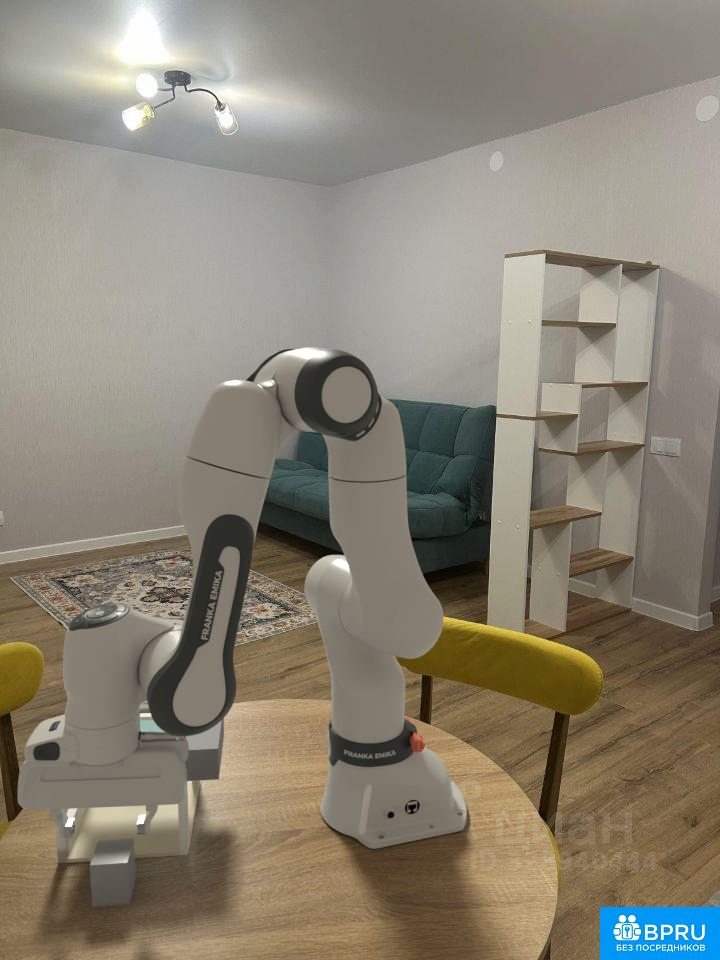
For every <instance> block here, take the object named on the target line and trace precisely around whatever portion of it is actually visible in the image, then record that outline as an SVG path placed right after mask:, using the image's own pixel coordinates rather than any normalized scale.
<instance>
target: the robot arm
mask: <svg viewBox="0 0 720 960" xmlns="http://www.w3.org/2000/svg"><path fill="white" fill-rule="evenodd" d="M399 412H400V411H399V410H398V408H397V407H396V406H395V404H394V403H393V402H391V401H390V400H388V399H386V398H384V397H382V396H381V395H380V394H379V391H378V386H377V382H376V380H375V377H374V375H373V373H372V372H371V370H370V368H369V366H367V364H365V362H363V361H362V359H361V358H359V357H357V356H356V355H354V354H352V353H349V352H347V351H344V350H341V349H331V348H324V347H315V346H306V347H302V348H286V349H281V350H279V351H276V352H275V353H272V354H270V355H269V356H268V357H266V358H265V359H264V360H263V361H262V362H261V363H260V364H259V365H258V366H257V368H256V369H255V370H254V371H253V373H252V374H251V375H250V376H248V377H247V378H246V380H242V379H232V380H228V381H227V380H226V381H224V382H221V383H220V384H218V385H217V386H215V387H214V388H213V389H212V390H211V392H210V393H209V396H208V398H207V399H206V401H205V403H204V405H203V407H202V410H201V412H200V414H199V416H198V418H197V421H196V422H195V425H194V428H193V431H192V434H191V436H190V439H189V443H188V446H187V449H186V453H185V456H184V460H183V463H182V466H181V470H180V471H181V472H180V475H179V482H178V491H177V492H178V493H177V511H178V514H179V517H180V519H181V522H182V525H183V526H184V530H185V531H186V535H187V538H188V541H189V544H190V545H189V546H190V549H191V550H190V551H191V553H192V563H193V564H192V565H193V568H192V569H193V570H192V571H193V572H192V581H191V584H190V585H191V587H190V590H189V593H188V594H189V595H188V599H187V604H186V608H185V612H184V616H183V619H181V618H162V617H157V616H152V615H149V614H145V613H143V612H141V611H138V610H136V609H134V608H133V607H132V606H130V605H128V604H126V603H123V602H122V603H121V602H114V603H113V602H112V603H111V602H107V603H101V604H98V605H94V606H92V607H89V608H87V609H85V610H83V611H82V612H80V613H79V614H77V615H76V616H75V617H73V619H72V620H71V621H70V623H69V625H68V626H67V628H66V632H65V637H64V642H63V643H64V644H63V655H62V656H63V657H62V674H63V675H62V676H63V677H62V681H63V687H64V691H65V692H66V696H67V702H66V706H65V711H64V714H61V715H57V716H55V717H51V718H48V719H45V720H42V721H41V722H39V724H38V725H37V726H36V727H35V729H33V732H32V733H31V734H30V736H29V738H28V740H27V741H26V744H25V747H24V751H23V755H24V759H25V760H24V761H23V763H22V765H21V767H20V770H19V773H18V781H17V782H18V783H17V803H18V805H19V806H20V807H21V808H22V809H23V810H25V811H39V810H41V811H42V810H47V811H49V817H50V818H51V819H52V821H53V822H54V824H55V823H56V824H57V826H58V827H60V838H72V837H73V834H74V833H75V825H74V824H75V818H68V816H67V814H66V813H67V812H66V813H65V811H64V810H63V809H66V810H68V809H72V808H97V807H121V806H146V811H147V813H146V815H139V818H138V822H137V829H138V830H137V834H149V832H150V828H151V820H152V818H153V817H154V815H155V814H156V812H157V809H158V805H172V804H178V803H180V802H181V800H182V799H183V798H184V797H185V794H186V789H187V773H186V765H185V761H186V760H187V758H188V755H189V744H188V741H187V739H186V738H185V737H184V736H192V735H197V734H200V733H203V732H205V731H207V730H209V729H211V728H212V727H214V726H215V725H217V724H218V723H219V722H220V721H221V720H222V719H223V718H224V719H225V717H226V716H227V715H228V713H229V712H230V710H232V707H233V704H234V702H235V700H236V695H237V679H236V672H235V665H234V650H235V645H236V640H237V639H236V638H237V633H238V630H239V625H240V619H241V615H242V610H243V605H244V601H245V595H246V591H247V586H248V581H249V577H250V571H251V566H252V559H253V551H254V546H255V543H256V537H257V536H256V535H257V532H258V531H257V530H258V528H259V527H258V526H259V521H260V517H261V514H262V511H263V506H264V502H265V499H266V495H267V492H268V488H269V484H270V480H271V477H272V473H273V470H274V467H275V466H274V465H275V463H276V462H275V461H276V456H277V454H278V452H279V450H280V448H281V446H282V444H283V443H284V441H285V440H286V439H287V438H288V436H290V435H291V433H293V432H295V431H300V432H305V433H319V434H320V435H322V437H323V439H324V441H325V445H326V448H327V453H328V458H327V459H328V461H327V462H328V463H327V465H328V466H327V469H328V472H327V473H328V475H327V476H328V498H329V499H328V505H329V524H330V530H331V532H332V535H333V536H334V539H336V541H337V542H338V545H339V546H340V548H341V550H342V552H343V554H330V555H326V556H323V557H321V558H320V559H318V560H316V562H315V563H314V564H312V566H311V567H310V569H309V571H308V573H307V575H306V577H305V581H304V590H303V591H304V596H305V597H304V598H305V600H306V602H307V604H308V605H309V607H310V608H311V610H312V612H313V614H314V617H315V619H316V621H317V622H316V623H317V624H318V628H319V631H320V634H321V638H322V641H323V642H322V643H323V646H324V650H325V655H326V658H327V663H328V667H329V675H330V681H331V683H330V684H331V686H330V687H331V690H330V691H331V696H330V697H331V718H330V721H329V724H328V731H327V757H328V760H329V767H328V773H327V778H326V779H327V780H326V784H325V788H324V793H323V795H322V797H321V798H322V799H321V802H320V805H319V806H320V807H319V810H320V813H321V817H322V818H323V820H324V821H325V823H327V825H329V826H330V828H332V829H334V830H335V831H337V832H339V833H341V834H343V835H346V836H350V837H352V838H354V839H356V840H357V841H359V842H360V843H361V844H362V845H363V846H365V847H367V848H369V849H373V850H375V849H377V850H378V849H381V848H385V847H390V846H394V845H400V844H405V843H409V842H414V841H420V840H425V839H428V838H433V837H439V836H443V835H449V834H452V833H453V834H454V833H457V832H461V831H463V830H464V829H465V827H466V825H467V821H468V811H467V804H466V801H465V798H464V795H463V793H462V791H461V790H460V788H459V787H458V785H457V784H456V783H455V782H454V781H453V779H452V778H451V777H450V774H449V772H448V769H447V767H446V765H445V764H444V762H443V760H442V759H441V758H440V756H438V754H437V753H436V752H434V751H433V750H430V749H429V748H428V747H426V744H425V741H424V738H423V737H422V735H421V734H419V733H418V728H417V727H416V725H415V724H414V723H413V721H412V719H411V718H410V716H409V715H407V716H406V717H405V714H406V713H405V711H406V710H405V709H406V708H405V707H406V678H405V674H404V671H403V669H402V667H401V664H400V663H399V662H398V661H397V658H402V659H407V660H413V659H418V658H420V657H422V656H425V654H426V653H428V652H429V651H430V650H431V649H433V648H434V646H435V644H436V643H437V641H438V640H439V637H440V636H441V634H442V630H443V625H444V610H443V606H442V604H441V602H440V600H439V599H438V597H437V596H436V595H435V593H434V592H433V591H432V589H431V587H430V586H429V584H428V582H427V581H426V578H425V577H424V574H423V572H422V570H421V566H420V564H419V562H418V558H417V555H416V551H415V549H414V545H413V541H412V537H411V533H410V529H409V518H408V493H407V491H408V490H407V486H408V485H407V455H406V445H405V444H406V443H405V437H404V432H403V425H402V421H401V414H400V413H399ZM144 701H147V702H148V706H149V709H150V713H151V716H152V719H153V720H154V722H155V723H156V725H157V726H158V727H159V728H160V729H162V730H163V731H165V732H153V731H151V732H141V731H140V704H141V703H142V702H144ZM406 718H407V719H406ZM176 737H177V738H176Z"/></svg>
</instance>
